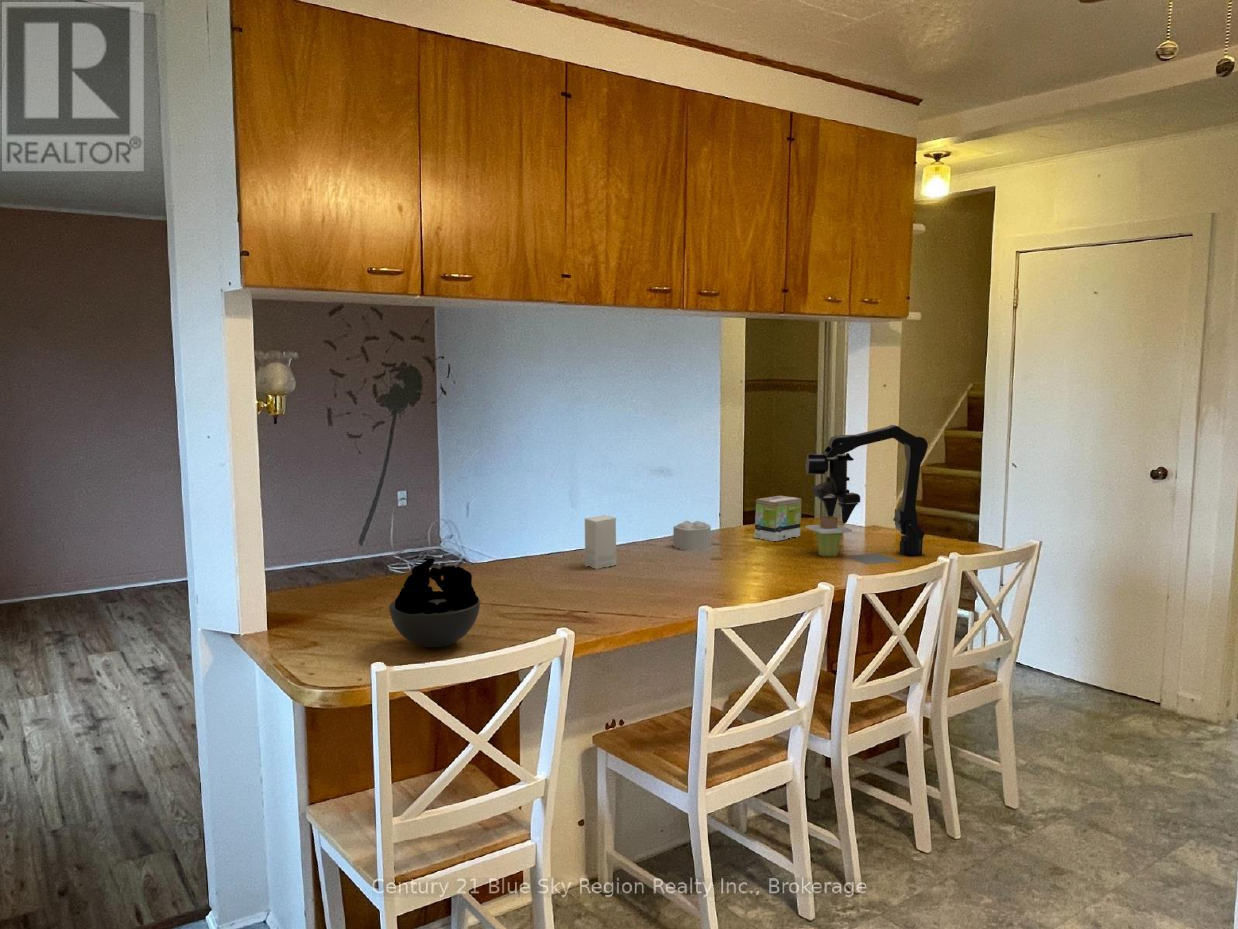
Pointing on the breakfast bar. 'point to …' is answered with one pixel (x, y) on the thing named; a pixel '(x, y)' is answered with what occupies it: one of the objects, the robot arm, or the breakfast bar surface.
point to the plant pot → (828, 543)
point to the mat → (873, 558)
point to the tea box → (777, 518)
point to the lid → (828, 526)
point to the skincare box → (600, 541)
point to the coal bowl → (435, 606)
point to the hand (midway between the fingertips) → (837, 520)
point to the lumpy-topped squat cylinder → (692, 535)
